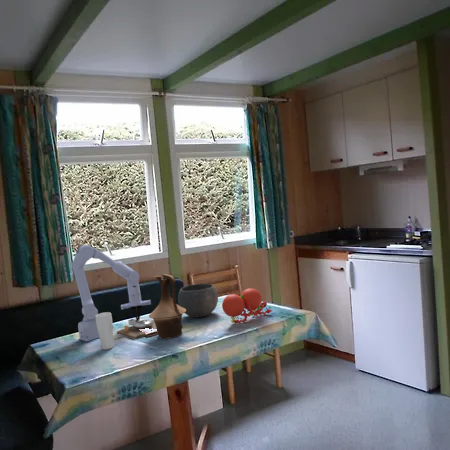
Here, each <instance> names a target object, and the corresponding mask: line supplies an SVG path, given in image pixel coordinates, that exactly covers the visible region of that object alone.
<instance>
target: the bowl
mask: <svg viewBox="0 0 450 450" xmlns="http://www.w3.org/2000/svg"><path fill="white" fill-rule="evenodd" d="M177 302H178V303H177V304H178V305H179V306H181V307H183V308H185V309H186V312H185V313H184V314H185V315H187V316H188V317H192V318H202V317H206V316H208V315H210V314H211V313H213V312H214V311H215V310H216V307H217V306H218V302H219V294H218V291H217V288H216V287H215V285H214V284H211V283H195V284H194V283H193V284H188V285H185V286H183V287H181V288H180V289H179V292H178V295H177Z"/></svg>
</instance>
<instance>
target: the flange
mask: <svg viewBox="0 0 450 450" xmlns="http://www.w3.org/2000/svg"><path fill="white" fill-rule="evenodd" d="M152 320H153V319H142V320H136V318H135V319H134V318H131V319H128V326H134V328H137V329H140V328H147V327H150V326H152V325H153V321H152Z"/></svg>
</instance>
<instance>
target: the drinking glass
mask: <svg viewBox="0 0 450 450" xmlns="http://www.w3.org/2000/svg"><path fill="white" fill-rule="evenodd" d="M95 317H96V325H97V329H98V334H99V340H100V347H101V350H104V351H106V350H111V349H113V348H114V346H115V341H114V328H113V327H114V325H113V317H112V313H111V312H109V311H107V312H100V313H98V314H97V315H96V316H95Z"/></svg>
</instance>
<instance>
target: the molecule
mask: <svg viewBox="0 0 450 450" xmlns="http://www.w3.org/2000/svg"><path fill="white" fill-rule="evenodd" d="M262 299H263V297H262V295H261V293H260V291H259V290H257V289H256V288H253V287H252V288H246V289H244V290H243V291H242V292H241V294H240V295H239V294H235V293H231V294H229V295H226V296H225V297H224V299H223V301H222V303H221V304H222V305H221V308H222V310H223V312H224V314H225V315H226V316H228V317H230V319H231V320H230V322H231V323H232V324H233V323H234V324H238V325H241V323H242V324H245V323H246V321H247V319H248V317H250V316H251V318H252V319H255V318H256V317H258V316H259V315H260V316H261V315H264V316H265V315H266V314H270V313H272V312H273V310H272V309H271V306H269V307H267V305H268V301H266V300H263V301H262ZM265 308H266V309H265ZM239 316H241V317H244V318H243V319H240V318H239Z"/></svg>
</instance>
